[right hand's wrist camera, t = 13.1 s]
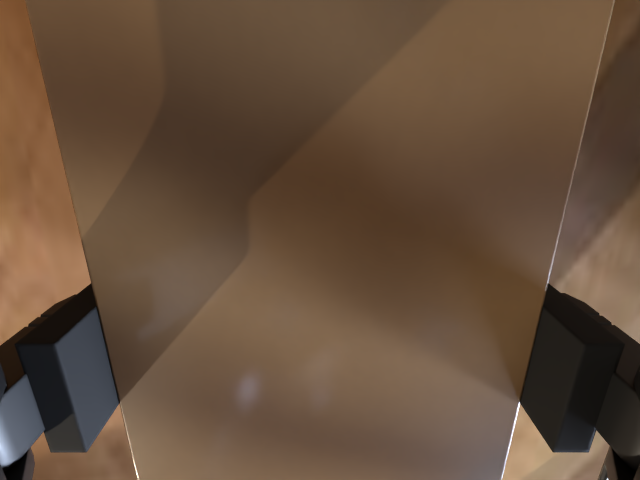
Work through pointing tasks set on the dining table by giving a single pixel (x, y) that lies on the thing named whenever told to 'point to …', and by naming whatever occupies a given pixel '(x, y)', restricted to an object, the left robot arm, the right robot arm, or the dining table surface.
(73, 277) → the dining table surface
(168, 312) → the cabinet
